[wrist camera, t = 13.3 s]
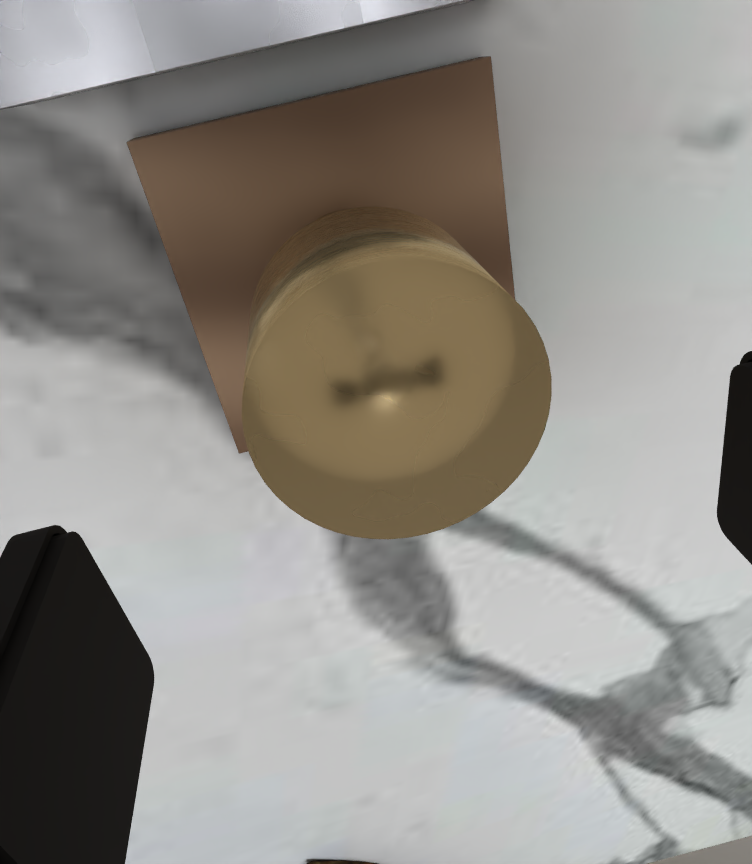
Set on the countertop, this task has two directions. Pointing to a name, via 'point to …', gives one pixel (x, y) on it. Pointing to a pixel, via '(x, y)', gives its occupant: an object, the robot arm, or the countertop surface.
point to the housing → (158, 37)
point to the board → (319, 189)
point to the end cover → (388, 377)
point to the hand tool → (339, 862)
